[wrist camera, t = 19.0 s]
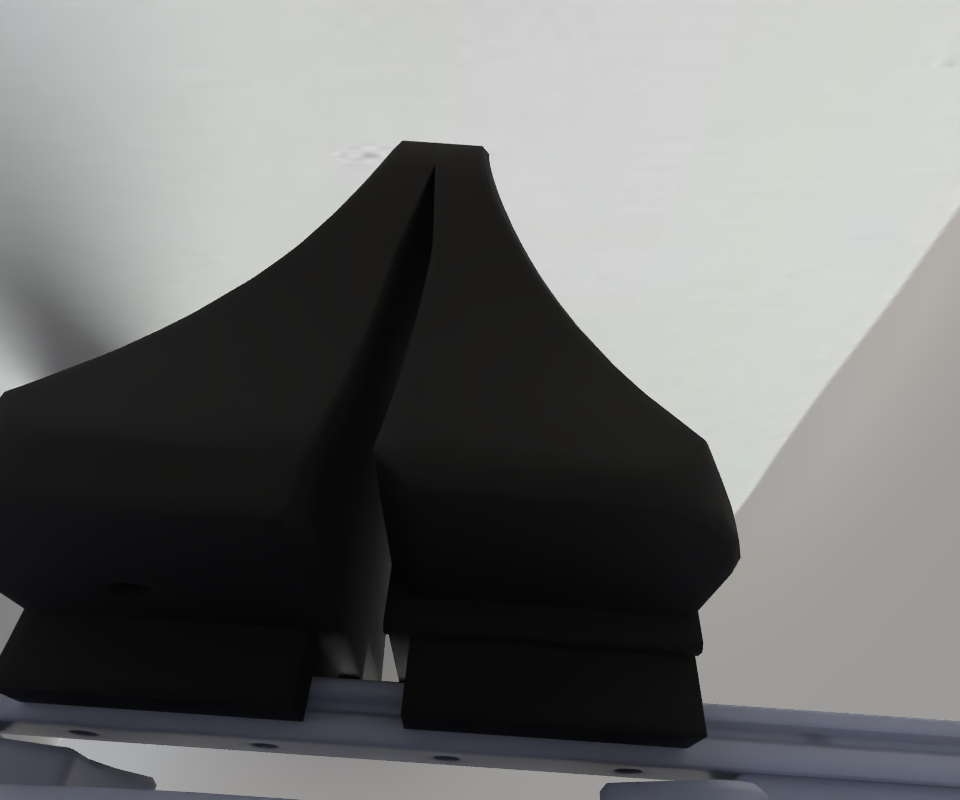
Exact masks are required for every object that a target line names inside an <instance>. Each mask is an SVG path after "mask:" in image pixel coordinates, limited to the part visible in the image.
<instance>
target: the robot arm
mask: <svg viewBox="0 0 960 800" xmlns="http://www.w3.org/2000/svg"><path fill="white" fill-rule="evenodd" d="M739 559H740V547H739V538H738V533H737V528H736V523H735V519H734V515H733V511H732V507H731V504H730V501H729V498H728V496H727V493H726V490H725V487H724V485H723V482H722V479H721V477H720V474H719V472H718V469H717V466H716V464H715V461H714V459H713V456H712V454H711V451H710V449H709V446H708V444H707V442H706V441H705V440H704V439H703V438H702V437H700V436H699V435H698V434H696V433H695V432H694V431H693V430H691V429H690V428H689V427H687V426H686V425H685V424H684V423H682V422H681V421H680V420H678V419H677V418H676V417H675V416H673V415H672V414H671V413H669V412H668V411H667V410H666V409H664V408H663V407H662V406H660V405H659V404H658V403H657V402H655V401H654V400H653V399H651V398H650V397H649V396H648V395H646V394H645V393H644V392H643V391H642V390H640V389H639V388H638V387H637V386H636V385H635V384H634V383H633V382H632V381H630V380H629V379H628V378H627V377H626V376H625V375H624V374H623V373H622V372H621V371H620V370H618V369H617V368H616V367H615V366H614V365H613V364H612V363H611V362H610V361H609V360H608V358H607V357H606V356H605V355H604V354H603V353H602V352H601V351H600V350H599V349H598V348H597V347H596V346H595V345H594V343H593V342H592V341H591V340H590V339H589V338H588V337H587V336H586V335H585V334H584V333H583V332H582V331H581V330H580V329H579V327H578V326H577V325H576V324H575V322H574V321H573V320H572V319H571V317H570V316H569V315H568V314H567V312H566V311H565V310H564V309H563V307H562V306H561V305H560V303H559V302H558V301H557V299H556V298H555V297H554V295H553V294H552V292H551V291H550V290H549V288H548V287H547V285H546V284H545V282H544V281H543V279H542V278H541V276H540V275H539V273H538V272H537V270H536V268H535V267H534V265H533V263H532V262H531V260H530V258H529V257H528V255H527V253H526V251H525V249H524V248H523V246H522V244H521V242H520V240H519V238H518V236H517V234H516V233H515V231H514V229H513V226H512V224H511V222H510V220H509V218H508V215H507V213H506V211H505V209H504V206H503V204H502V202H501V199H500V197H499V194H498V191H497V188H496V185H495V182H494V179H493V176H492V172H491V168H490V162H489V154H488V152H487V151H486V150H485V149H484V148H483V146H472V145H457V144H443V143H429V142H414V141H402V142H401V143H400V144H399V145H398V146H396V147H395V149H394V150H393V151H392V152H391V153H390V154H389V155H388V156H387V158H386V159H385V160H384V161H383V162H382V163H381V164H380V166H379V167H378V168H377V169H376V170H375V171H374V172H373V173H372V175H371V176H370V177H369V178H368V179H367V180H366V181H365V182H364V183H363V184H362V185H361V187H360V188H359V189H358V190H357V191H356V192H355V193H354V194H353V195H352V196H351V197H350V198H349V199H348V200H347V201H346V202H345V203H344V204H343V205H342V206H341V207H340V208H339V209H338V210H337V211H336V212H335V213H334V214H333V215H332V216H331V217H330V218H329V219H327V220H326V221H325V222H324V223H323V224H322V225H321V226H320V227H319V228H317V229H316V230H315V231H314V232H313V233H312V234H311V235H310V236H309V237H307V238H306V239H305V240H304V241H303V242H302V243H300V244H299V245H298V246H297V247H295V248H294V249H293V250H292V251H290V252H289V253H288V254H286V255H285V256H284V257H282V258H281V259H279V260H278V261H277V262H275V263H274V264H272V265H271V266H270V267H268V268H267V269H265V270H264V271H262V272H261V273H260V274H258V275H257V276H255V277H254V278H252V279H251V280H249V281H247V282H246V283H244V284H242V285H241V286H239V287H237V288H235V289H234V290H232V291H230V292H229V293H227V294H225V295H223V296H222V297H220V298H218V299H217V300H215V301H213V302H212V303H210V304H208V305H206V306H205V307H203V308H201V309H200V310H198V311H196V312H194V313H192V314H190V315H189V316H187V317H185V318H183V319H181V320H179V321H177V322H175V323H173V324H171V325H169V326H167V327H165V328H163V329H161V330H159V331H156V332H154V333H152V334H150V335H148V336H145V337H143V338H141V339H139V340H137V341H134V342H132V343H130V344H128V345H126V346H123V347H121V348H119V349H116V350H114V351H112V352H109V353H107V354H105V355H102V356H100V357H97V358H95V359H92V360H89V361H87V362H84V363H81V364H79V365H76V366H74V367H71V368H68V369H66V370H63V371H60V372H58V373H55V374H52V375H50V376H47V377H44V378H42V379H39V380H37V381H34V382H31V383H29V384H26V385H23V386H20V387H17V388H14V389H11V390H9V391H6V392H4V393H3V395H2V396H1V397H0V593H1V594H3V595H4V596H6V597H7V598H9V599H10V600H12V601H13V602H15V603H16V604H18V605H19V606H21V607H22V608H24V610H23V612H22V614H21V616H20V618H19V620H18V622H17V624H16V626H15V628H14V629H13V631H12V633H11V635H10V637H9V639H8V641H7V643H6V645H5V647H4V649H3V651H2V653H1V654H0V800H295V799H281V798H266V797H252V796H238V795H224V794H210V793H195V792H176V791H158V790H155V788H156V783H155V781H154V779H153V778H151V777H147V776H144V775H139V774H136V773H132V772H128V771H124V770H120V769H116V768H113V767H110V766H107V765H104V764H101V763H98V762H96V761H93V760H90V759H88V758H86V757H84V756H82V755H81V754H80V753H78V752H76V751H75V750H73V749H71V748H67V747H60V746H54V745H47V744H40V743H33V742H26V741H20V740H13V739H6V738H3V737H2V735H1V734H13V735H27V736H41V737H56V738H71V739H85V740H100V741H114V742H128V743H142V744H156V745H172V746H186V747H200V748H214V749H228V750H243V751H257V752H272V753H286V754H300V755H314V756H329V757H343V758H358V759H372V760H386V761H401V762H415V763H430V764H445V765H458V766H473V767H487V768H501V769H502V768H503V769H516V770H531V771H545V772H559V773H560V772H561V773H573V774H588V775H602V776H603V775H604V776H616V777H631V778H646V779H661V780H674V781H654V782H624V783H623V782H622V783H607V784H606V785H605V786H604V787H603V788H602V789H601V791H600V800H960V721H949V720H935V719H921V718H905V717H892V716H877V715H863V714H848V713H834V712H820V711H805V710H791V709H776V708H762V707H747V706H734V705H719V704H703V703H702V698H701V691H700V685H699V678H698V672H697V666H696V659H695V656H698V655H700V654H701V653H702V650H703V639H702V633H701V627H700V621H699V615H698V610H699V609H700V608H701V607H702V606H703V605H704V603H705V602H706V601H707V600H708V599H709V598H710V597H711V596H712V594H713V593H714V592H715V591H716V590H717V589H718V588H719V587H720V586H721V585H722V584H723V582H724V581H725V580H726V579H727V578H728V577H729V576H730V575H731V573H732V572H733V570H734V568H735V566H736V565H737V563H738V561H739ZM386 634H389V638H390V643H391V647H392V651H393V655H394V660H395V665H396V669H397V673H398V678H399V682H389V681H381V679H382V667H383V656H384V646H385V636H386Z"/></svg>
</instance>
